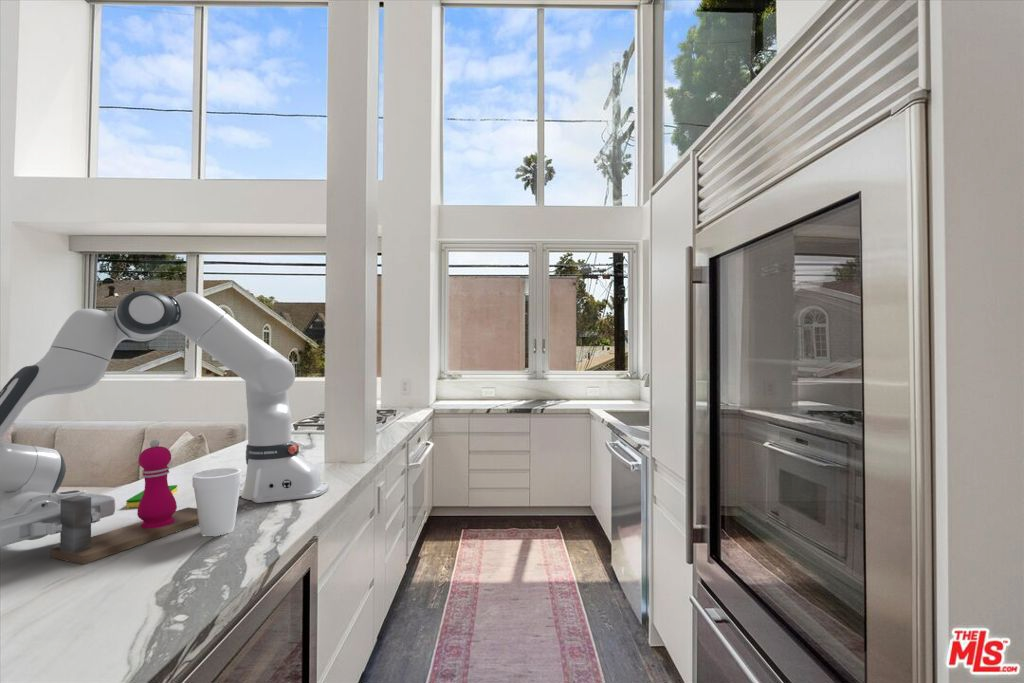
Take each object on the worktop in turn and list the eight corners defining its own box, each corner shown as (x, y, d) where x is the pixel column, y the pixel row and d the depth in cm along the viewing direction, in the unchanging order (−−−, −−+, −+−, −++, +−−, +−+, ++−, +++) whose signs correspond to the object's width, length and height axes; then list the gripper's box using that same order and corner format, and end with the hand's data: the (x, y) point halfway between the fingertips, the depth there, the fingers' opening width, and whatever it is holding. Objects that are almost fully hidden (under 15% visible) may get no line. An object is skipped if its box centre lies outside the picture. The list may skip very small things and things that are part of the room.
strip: (188, 513, 125) (188, 466, 125) (217, 517, 121) (217, 469, 122) (50, 557, 99) (51, 497, 99) (82, 564, 95) (83, 503, 96)
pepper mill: (157, 535, 109) (153, 443, 109) (129, 534, 110) (125, 443, 110) (185, 523, 116) (181, 436, 116) (158, 522, 118) (154, 436, 118)
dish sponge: (177, 493, 145) (177, 484, 145) (157, 507, 132) (157, 498, 132) (149, 495, 143) (149, 486, 144) (125, 510, 130) (125, 500, 130)
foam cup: (250, 527, 115) (250, 470, 115) (211, 542, 106) (211, 479, 106) (222, 522, 119) (222, 466, 119) (183, 535, 110) (183, 475, 110)
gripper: (-36, 516, 93) (8, 524, 88) (90, 487, 112) (132, 493, 107) (-36, 550, 93) (8, 561, 88) (90, 516, 112) (132, 522, 107)
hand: (77, 523), depth 98 cm, fingers open, 5 cm apart
